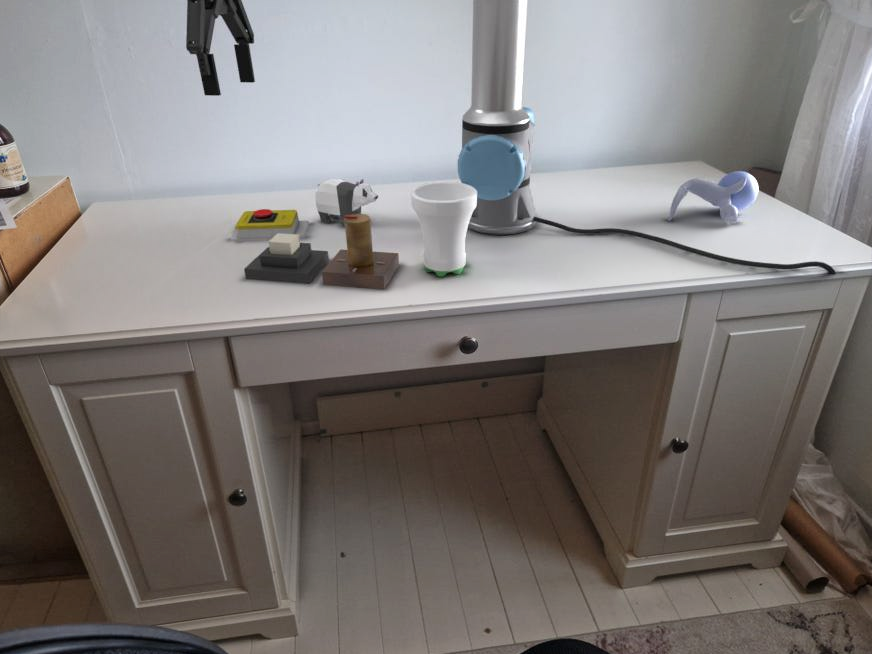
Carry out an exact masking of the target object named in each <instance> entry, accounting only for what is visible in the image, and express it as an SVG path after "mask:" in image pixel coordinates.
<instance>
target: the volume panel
mask: <svg viewBox="0 0 872 654" xmlns="http://www.w3.org/2000/svg"><path fill="white" fill-rule="evenodd" d="M399 259H400V258H399V253H398V252H388V251H387V252H386V251H373V260H374V261H373V263H372V264H371V265H368V266H364V267H355V266H351V265H350V264H349V263H348V253H347V249H339V251H338V252H337V253H336V254H335V255H334V257H333V258H332V259H331V260H330V261H329V262H328V263H327V264H326V265H325V267H324V268H323V269H322V270H321V277H322V284H323V286H332V287H333V286H334V287H346V288H348V287H349V288H359V289H360V288H361V289H372V290H373V289H375V290H386V288H387V286H388V284H389V283H390V281H391V279H392V278H393V276H394V274H395V273H396V271H397V270H398V268H399V266H400V260H399Z"/></svg>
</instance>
